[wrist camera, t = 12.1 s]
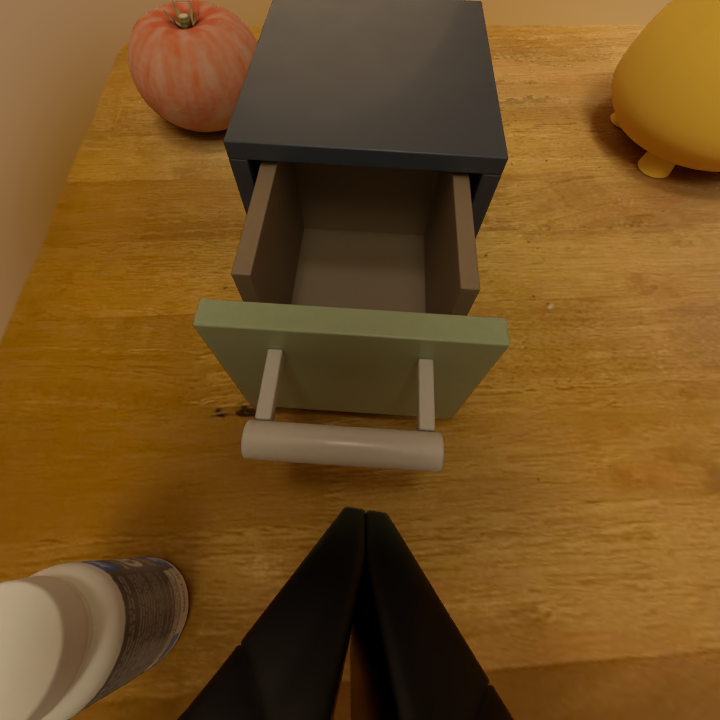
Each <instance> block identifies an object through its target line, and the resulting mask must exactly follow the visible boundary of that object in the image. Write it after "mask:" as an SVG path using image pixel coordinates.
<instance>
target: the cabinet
mask: <svg viewBox="0 0 720 720" xmlns="http://www.w3.org/2000/svg"><path fill="white" fill-rule="evenodd" d="M223 142H224V145H225V148H226V151H227V154H228V157H229V161H230V164H231V167H232V170H233V174H234V177H235V180H236V183H237V186H238V189H239V192H240V196H241V199H242V202H243V205H244V208H245V211H246V214H247V213H248V209H249V206H250V202H251V198H252V194H253V191H254V187H255V183H256V180H257V176H258V172H259V169H260V165H261V161H262V160H263V161H280V162H296V163H313V164H329V165H346V166H362V167H378V168H395V169H411V170H428V171H444V172H461V173H469V181H470V192H471V202H472V212H473V222H474V233H475V239H476V236H477V234H478V231H479V229H480V227H481V224H482V222H483V219H484V217H485V214H486V212H487V209H488V207H489V204H490V202H491V200H492V197H493V195H494V192H495V190H496V187H497V185H498V182H499V180H500V177H501V174H502V172H503V170H504V167H505V165H506V163H507V160H508V154H507V148H506V142H505V136H504V131H503V125H502V119H501V113H500V107H499V101H498V95H497V90H496V84H495V78H494V72H493V66H492V60H491V55H490V49H489V43H488V37H487V31H486V25H485V20H484V14H483V8H482V3H481V1H465V0H273V1H272V4H271V6H270V9H269V12H268V15H267V18H266V20H265V23H264V26H263V29H262V32H261V35H260V38H259V40H258V43H257V46H256V49H255V52H254V55H253V58H252V60H251V63H250V66H249V69H248V72H247V75H246V78H245V80H244V83H243V86H242V89H241V92H240V95H239V97H238V100H237V103H236V106H235V109H234V112H233V115H232V117H231V120H230V123H229V126H228V129H227V132H226V135H225V137H224V141H223Z"/></svg>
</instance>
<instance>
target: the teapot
mask: <svg viewBox="0 0 720 720" xmlns="http://www.w3.org/2000/svg"><path fill="white" fill-rule="evenodd" d="M611 90H612V101H613V107H614V111H615V113H613V114H612V115H611V116H610V120H611V122H612V123H613V124H614V125H616V126H617V127H619V128H622V129H623V131H624V132H625V133H626V134H627V135H628V136H629V138H631V139H632V140H633V141H634V142H635V143H636V144H638V145H639V146H640V147H642V148H643V149H645V150H646V151H647V152H646V153H645V154H644V156H643V157H642V158H641V159H640V160H639V161H638V168H639V169H640V170H641V171H642V172H643V173H644V174H646V175H648V176H650V177H654V178H665V177H667V176H668V175H669V174H670V173H671V171H672V169H673V168H674V166H675V165H676V164H677V165H680V166H683V167H687V168H691V169H696V170H702V171H711V172H720V0H672V1H671V2H670V3H669V4H668V5H667V6H666V7H664V8H663V9H662V10H661V11H660V12H659V13H658V15H656V16H655V17H654V18H653V20H652V21H651V22H650V23H649V24H648V25H647V26H646V27H645V28H644V30H643V31H642V32H641V33H640V34H639V36H638V37H637V38H636V39H635V40H634V42H633V43H632V44H631V46H630V47H629V48H628V50H627V51H626V52H625V54H624V55H623V57H622V59H621V60H620V62H619V64H618V65H617V67H616V69H615V71H614V74H613V79H612V84H611Z"/></svg>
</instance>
